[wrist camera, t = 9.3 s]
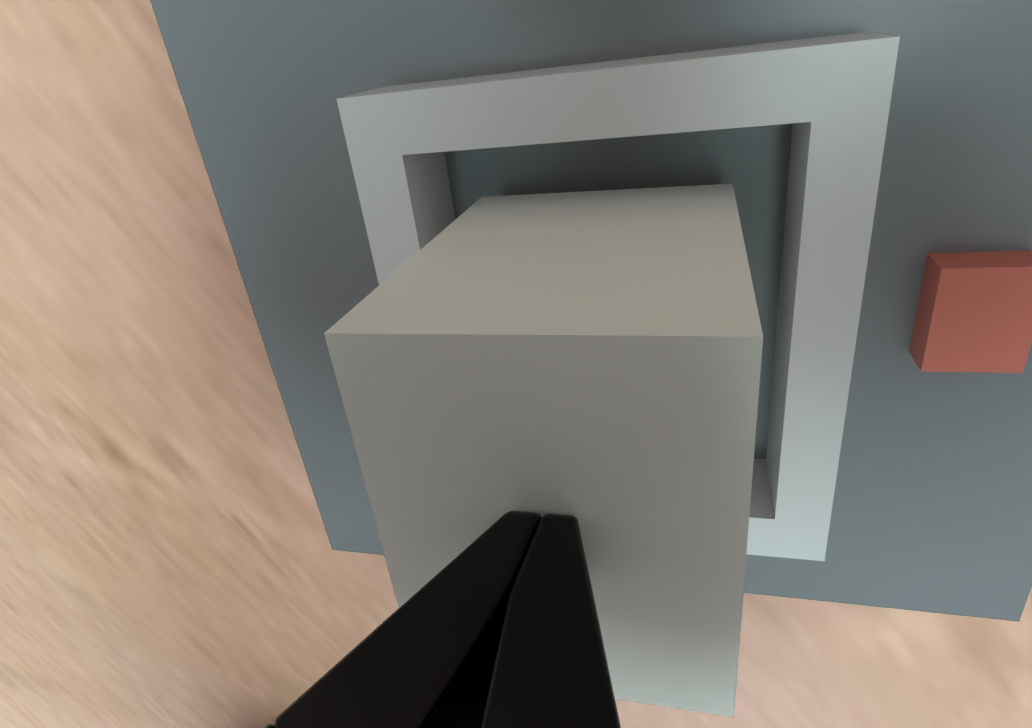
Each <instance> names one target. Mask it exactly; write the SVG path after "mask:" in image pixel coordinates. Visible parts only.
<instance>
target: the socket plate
mask: <svg viewBox="0 0 1032 728" xmlns="http://www.w3.org/2000/svg"><path fill="white" fill-rule="evenodd" d="M150 1H151V4H152V7H153V10H154V13H155V16H156V19H157V22H158V25H159V28H160V31H161V34H162V37H163V40H164V43H165V46H166V49H167V52H168V55H169V58H170V61H171V64H172V67H173V70H174V73H175V76H176V79H177V83H178V86H179V89H180V92H181V95H182V98H183V101H184V104H185V107H186V110H187V113H188V116H189V119H190V122H191V125H192V128H193V131H194V134H195V137H196V140H197V143H198V146H199V149H200V152H201V155H202V158H203V161H204V164H205V167H206V170H207V173H208V176H209V179H210V182H211V185H212V188H213V191H214V194H215V197H216V200H217V203H218V206H219V209H220V212H221V215H222V218H223V221H224V224H225V227H226V230H227V233H228V236H229V239H230V242H231V245H232V248H233V252H234V255H235V258H236V261H237V264H238V267H239V270H240V273H241V276H242V279H243V282H244V285H245V288H246V291H247V294H248V297H249V300H250V303H251V306H252V309H253V312H254V315H255V318H256V321H257V324H258V327H259V330H260V333H261V336H262V339H263V342H264V345H265V348H266V351H267V354H268V357H269V360H270V363H271V366H272V369H273V372H274V375H275V378H276V381H277V384H278V387H279V390H280V393H281V396H282V399H283V402H284V405H285V408H286V411H287V414H288V417H289V421H290V424H291V427H292V430H293V433H294V436H295V439H296V442H297V445H298V448H299V451H300V454H301V457H302V460H303V463H304V466H305V469H306V472H307V475H308V478H309V481H310V484H311V487H312V490H313V493H314V496H315V499H316V502H317V505H318V508H319V511H320V514H321V517H322V520H323V523H324V526H325V529H326V532H327V535H328V538H329V541H330V544H331V547H332V550H341V551H350V552H360V553H369V554H379V555H384V552H383V548H382V544H381V541H380V537H379V533H378V530H377V526H376V522H375V519H374V515H373V511H372V508H371V504H370V500H369V497H368V493H367V489H366V486H365V482H364V478H363V475H362V471H361V467H360V464H359V460H358V456H357V453H356V449H355V445H354V442H353V438H352V434H351V431H350V427H349V423H348V420H347V416H346V412H345V409H344V405H343V401H342V398H341V394H340V390H339V387H338V383H337V379H336V376H335V372H334V368H333V365H332V361H331V357H330V354H329V350H328V346H327V343H326V339H325V335H324V333H325V332H326V331H327V330H328V329H330V328H331V327H332V326H333V325H334V324H335V323H336V322H338V321H339V320H340V319H341V318H342V317H343V316H345V315H346V314H347V313H348V312H349V311H350V310H351V309H353V308H354V307H355V306H356V305H357V304H358V303H360V302H361V301H362V300H363V299H364V298H365V297H367V296H368V295H369V294H370V293H371V292H372V291H373V290H375V289H376V288H377V287H378V286H379V285H380V284H382V283H383V282H384V281H385V280H386V279H387V278H389V277H390V276H391V275H392V274H393V273H394V272H395V271H397V270H398V269H399V268H400V267H401V266H402V265H404V264H405V263H406V262H407V261H408V260H409V259H410V258H412V257H413V256H414V255H415V254H416V253H417V252H419V251H420V250H421V249H422V248H423V247H424V246H426V245H427V244H428V243H429V242H430V241H431V240H432V239H434V238H435V237H436V236H437V235H438V234H439V233H441V232H442V231H443V230H444V229H445V228H446V227H447V226H449V225H450V224H451V223H452V222H453V221H454V220H456V219H457V218H458V217H459V216H460V215H461V214H463V213H464V212H465V211H466V210H467V209H468V208H469V207H471V206H472V205H473V204H474V203H475V202H476V201H478V200H479V199H480V198H481V197H488V196H507V195H526V194H545V193H564V192H583V191H602V190H621V189H640V188H659V187H678V186H697V185H716V184H733V188H734V193H735V198H736V203H737V208H738V213H739V218H740V223H741V228H742V233H743V238H744V243H745V248H746V253H747V258H748V263H749V268H750V273H751V278H752V283H753V288H754V293H755V298H756V303H757V308H758V313H759V318H760V323H761V328H762V333H763V346H762V359H761V372H760V384H759V397H758V410H757V423H756V436H755V449H754V462H753V475H752V488H751V501H750V514H749V526H748V539H747V552H746V565H745V578H744V591H743V593H752V594H761V595H771V596H780V597H790V598H799V599H809V600H818V601H828V602H838V603H847V604H857V605H866V606H876V607H885V608H895V609H904V610H914V611H924V612H933V613H943V614H952V615H962V616H971V617H981V618H990V619H1000V620H1010V621H1019V620H1020V618H1021V615H1022V612H1023V609H1024V606H1025V604H1026V601H1027V598H1028V595H1029V592H1030V589H1031V587H1032V0H150Z"/></svg>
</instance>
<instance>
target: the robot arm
mask: <svg viewBox="0 0 1032 728" xmlns="http://www.w3.org/2000/svg"><path fill="white" fill-rule="evenodd" d="M265 728H621V726H620V721H619V717H618V712H617V707H616V702H615V697H614V692H613V687H612V683H611V678H610V673H609V668H608V663H607V658H606V653H605V649H604V644H603V639H602V634H601V629H600V624H599V619H598V615H597V610H596V605H595V600H594V595H593V590H592V585H591V581H590V576H589V571H588V566H587V561H586V556H585V551H584V547H583V542H582V537H581V532H580V527H579V523H578V519H577V518H576V517H575V516H573V515H562V514H550V513H549V514H545V515H544V516H543V517H542V516H541V515H540V514H539V513H536V512H525V511H509V512H507V513H505V514H504V515H503V516H502V517H500V518H499V519H498V520H497V521H496V522H495V523H494V524H493V525H492V526H490V527H489V528H488V529H487V530H486V531H485V532H484V533H483V534H481V535H480V536H479V537H478V538H477V539H476V540H475V541H474V542H472V543H471V544H470V545H469V546H468V547H467V548H466V549H465V550H464V551H462V552H461V553H460V554H459V555H458V556H457V557H456V558H455V559H453V560H452V561H451V562H450V563H449V564H448V565H447V566H446V567H444V568H443V569H442V570H441V571H440V572H439V573H438V574H437V575H436V576H434V577H433V578H432V579H431V580H430V581H429V582H428V583H427V584H425V585H424V586H423V587H422V588H421V589H420V590H419V591H418V592H417V593H415V594H414V595H413V596H412V597H411V598H410V599H409V600H408V601H406V602H405V603H404V604H403V605H402V606H401V607H400V608H399V609H397V610H396V611H395V612H394V613H393V614H392V615H391V616H390V617H389V618H387V619H386V620H385V621H384V622H383V623H382V624H381V625H380V626H378V627H377V628H376V629H375V630H374V631H373V632H372V633H371V634H370V635H368V636H367V637H366V638H365V639H364V640H363V641H362V642H361V643H359V644H358V645H357V646H356V647H355V648H354V649H353V650H352V651H350V652H349V653H348V654H347V655H346V656H345V657H344V658H343V659H342V660H340V661H339V662H338V663H337V664H336V665H335V666H334V667H333V668H331V669H330V670H329V671H328V672H327V673H326V674H325V675H324V676H323V677H321V678H320V679H319V680H318V681H317V682H316V683H315V684H314V685H312V686H311V687H310V688H309V689H308V690H307V691H306V692H305V693H303V694H302V695H301V696H300V697H299V698H298V699H297V700H296V701H295V702H293V703H292V704H291V705H290V706H289V707H288V708H287V709H286V710H284V711H283V712H282V713H281V714H280V715H279V716H278V717H277V718H276V720H275V726H274V725H273V724H269V725H267V726H266V727H265Z"/></svg>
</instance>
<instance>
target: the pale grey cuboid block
mask: <svg viewBox="0 0 1032 728" xmlns="http://www.w3.org/2000/svg"><path fill="white" fill-rule="evenodd" d="M324 335H325V339H326V343H327V346H328V350H329V354H330V357H331V361H332V365H333V368H334V372H335V376H336V379H337V383H338V387H339V390H340V394H341V398H342V401H343V405H344V409H345V412H346V416H347V420H348V423H349V427H350V431H351V434H352V438H353V442H354V445H355V449H356V453H357V456H358V460H359V464H360V467H361V471H362V475H363V478H364V482H365V486H366V489H367V493H368V497H369V500H370V504H371V508H372V511H373V515H374V519H375V522H376V526H377V530H378V533H379V537H380V541H381V544H382V548H383V552H384V555H385V559H386V563H387V566H388V570H389V574H390V577H391V581H392V585H393V588H394V592H395V596H396V599H397V603H398V607H399V608H400V607H401V606H402V605H403V604H404V603H405V602H406V601H408V600H409V599H410V598H411V597H412V596H413V595H414V594H415V593H417V592H418V591H419V590H420V589H421V588H422V587H423V586H424V585H425V584H427V583H428V582H429V581H430V580H431V579H432V578H433V577H434V576H436V575H437V574H438V573H439V572H440V571H441V570H442V569H443V568H444V567H446V566H447V565H448V564H449V563H450V562H451V561H452V560H453V559H455V558H456V557H457V556H458V555H459V554H460V553H461V552H462V551H464V550H465V549H466V548H467V547H468V546H469V545H470V544H471V543H472V542H474V541H475V540H476V539H477V538H478V537H479V536H480V535H481V534H483V533H484V532H485V531H486V530H487V529H488V528H489V527H490V526H492V525H493V524H494V523H495V522H496V521H497V520H498V519H499V518H500V517H502V516H503V515H504V514H505V513H507V512H509V511H525V512H536V513H539V514H540V515H541V516H542V517H543V516H544V515H545V514H549V513H550V514H562V515H573V516H575V517H576V518H577V519H578V523H579V527H580V532H581V537H582V542H583V547H584V551H585V556H586V561H587V566H588V571H589V576H590V581H591V585H592V590H593V595H594V600H595V605H596V610H597V615H598V619H599V624H600V629H601V634H602V639H603V644H604V649H605V653H606V658H607V663H608V668H609V673H610V678H611V683H612V687H613V692H614V697H615V699H620V700H626V701H632V702H639V703H645V704H652V705H658V706H664V707H671V708H677V709H683V710H690V711H696V712H702V713H709V714H715V715H721V716H728V717H734V707H735V694H736V681H737V668H738V655H739V643H740V630H741V617H742V604H743V591H744V578H745V565H746V552H747V539H748V526H749V514H750V501H751V488H752V475H753V462H754V449H755V436H756V423H757V410H758V397H759V384H760V372H761V359H762V346H763V333H762V328H761V323H760V318H759V313H758V308H757V303H756V298H755V293H754V288H753V283H752V278H751V273H750V268H749V263H748V258H747V253H746V248H745V243H744V238H743V233H742V228H741V223H740V218H739V213H738V208H737V203H736V198H735V193H734V188H733V184H716V185H697V186H678V187H659V188H640V189H621V190H602V191H583V192H564V193H545V194H526V195H507V196H488V197H481V198H480V199H479V200H478V201H476V202H475V203H474V204H473V205H472V206H471V207H469V208H468V209H467V210H466V211H465V212H464V213H463V214H461V215H460V216H459V217H458V218H457V219H456V220H454V221H453V222H452V223H451V224H450V225H449V226H447V227H446V228H445V229H444V230H443V231H442V232H441V233H439V234H438V235H437V236H436V237H435V238H434V239H432V240H431V241H430V242H429V243H428V244H427V245H426V246H424V247H423V248H422V249H421V250H420V251H419V252H417V253H416V254H415V255H414V256H413V257H412V258H410V259H409V260H408V261H407V262H406V263H405V264H404V265H402V266H401V267H400V268H399V269H398V270H397V271H395V272H394V273H393V274H392V275H391V276H390V277H389V278H387V279H386V280H385V281H384V282H383V283H382V284H380V285H379V286H378V287H377V288H376V289H375V290H373V291H372V292H371V293H370V294H369V295H368V296H367V297H365V298H364V299H363V300H362V301H361V302H360V303H358V304H357V305H356V306H355V307H354V308H353V309H351V310H350V311H349V312H348V313H347V314H346V315H345V316H343V317H342V318H341V319H340V320H339V321H338V322H336V323H335V324H334V325H333V326H332V327H331V328H330V329H328V330H327V331H326V332H325V333H324Z"/></svg>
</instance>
